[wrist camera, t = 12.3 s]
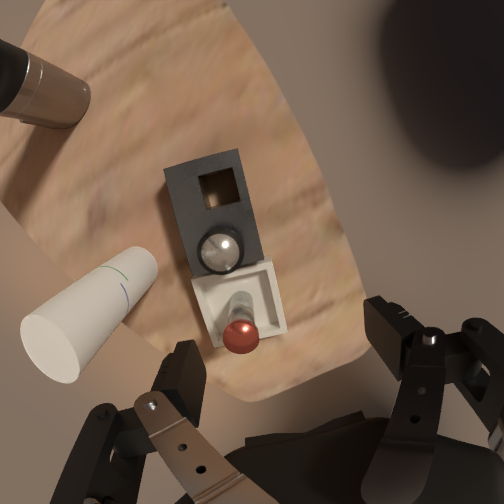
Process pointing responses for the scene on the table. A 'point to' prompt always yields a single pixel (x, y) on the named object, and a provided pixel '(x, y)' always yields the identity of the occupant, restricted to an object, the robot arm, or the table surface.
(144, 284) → the cylindrical container
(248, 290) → the dish
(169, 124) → the table surface
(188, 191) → the dark grey block
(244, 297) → the pin
